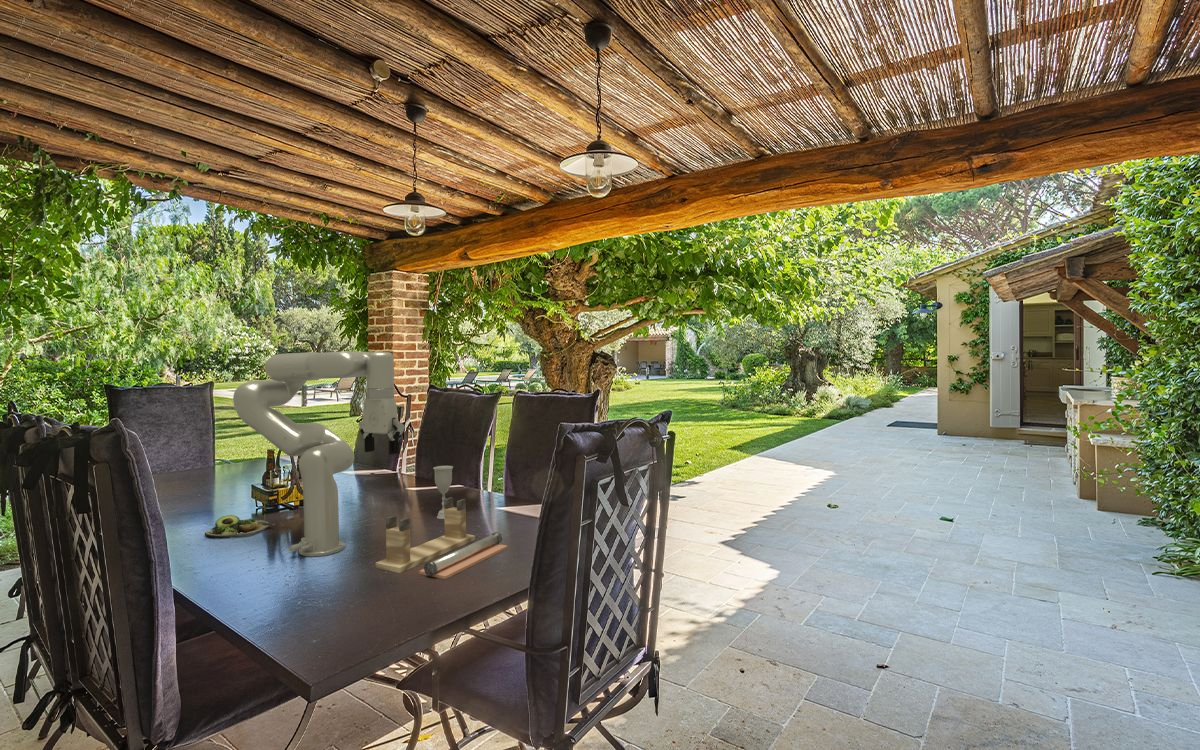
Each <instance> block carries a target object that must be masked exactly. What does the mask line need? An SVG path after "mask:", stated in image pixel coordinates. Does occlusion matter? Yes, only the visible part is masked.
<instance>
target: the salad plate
mask: <svg viewBox="0 0 1200 750" xmlns="http://www.w3.org/2000/svg"><path fill="white" fill-rule="evenodd" d="M214 524H215V525H214V527H212V528H210V529H208V530H206V531H205V532H204V536H205V537H207V538H208V539H217V538H218V539H231V538H230V537H234V538H242V537H241V536H244V537H250V536H253V535H257V534H259V532H260V533H262V532H263V531H264V530H266V529H267V528H269V527H274V526H275V525H276V524H275V523H271V522H268V521H266V520H257V519H256V518H248V519H246V518H245V519H240V517H238V516H237V515H234V514H233V515H232V514H230V515H229V514H228V515H224V516H220V518H219V517H218V519H217V520H216V521H215V523H214ZM262 530H263V531H262ZM240 532H244V533H240ZM245 532H247V533H245ZM237 533H238V534H237ZM249 535H250V536H249Z"/></svg>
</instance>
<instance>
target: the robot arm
mask: <svg viewBox="0 0 1200 750" xmlns="http://www.w3.org/2000/svg"><path fill="white" fill-rule="evenodd" d="M394 358H395V357H394V355H393V353H391V352H388V351H375V352H374V351H372V352H369V351H361V350H360V351H355V350H351V351H343V350H342V351H330V352H329V351H328V352H317V351H310V352H293V353H292V352H291V353H278V354H273V355H272V356H270V357H269V358H268V359H267V360H266V361H265V364H264V373H265V374H266V375H267V376H268V378H269V379H263V380H262V379H261V380H251V381H247V382H244V383H242V384H240V385H238V386H237V388H236V389H235V391H234V393H233V398H232V399H233V401H232V403H233V407H234V410H235V412H236V414H237V416H238V417H239V418H240V419H241V420H242V422H243V423H245V424H246V425H247V426H248V427H249V428H250V429H253V430H254V431H255V432H257V433H258V434H260V435H261V436H263V438H265V439H266V440H267V441H268V442H270V443H271V444H272V445H273V446H275V447H276V448H277V449H279V450H280V451H281V452H282V453H284V454H285V455H287V456H289V457H299V456H300V457H299V460H298V466H299V467H298V469H299V472H300V477H301V483H302V492H303V493H302V495H303V498H302V499H303V533H304V535H303V537H301V538H300V541H299V542H298V543H294V544H292V545H290V546H289V548H288V549H289V551H290V552H291V553H293V552H297V551H298V553H299V554H300V555H301V556H304V557H322V556H328V555H332V554H333V555H334V554H336V553H338V552H341V551H342V550H343V549H345V546H346V545H345V541H343V540H340V525H339V524H340V521H339V519H340V515H339V513H340V512H339V508H340V507H339V487H338V484H337V483H336V480H335V478H334V475H335V474H338V473H342V472H345V471H347V470H348V469H349V468H351V467H352V465H353V464H354V462H355V452H354V450H353V449H352V446H350V445H349V443H348V442H347V441H345V440H344V439H342V438H341V437H340V436H339V435H337V434H336V433H335V432H333V431H332V430H331V429H330V428H328V427H326V426H325V425H324V424H321V423H318V422H304V423H297V422H295V421H293V420H292V419H290V418H289V417H288V416H286V415H285V414H283V413H282V412H280V411H279V410H276V409H274V407H279V406H284V405H285V404H287V403H289V402H290V401H291V400H292V399H293V398H294V397H295V396H296V394H297V393H298V392H299V391H300V389H302V387H303V386H304V385H305V384H306V383H307V382H309V381H318V380H322V379H347V378H360V377H361V378H362V377H366V392H365V393H366V398H365V399H364V402H363V403H364V405H363V410H362V420H361V421H359V422H358V423H357V424H358V428H359V429H360V430H359V431H360V433H361V434H362V438H363V440H364V452H365V453H370V452H374V451H375V449H376V448H375V446H376V445H375V437H374V435H375V434H376V435H385V434H386V435H387V436H388V438H389V440H388V454H389V455H391V456H392V455H397V454H400V451H399V450H400V447H399V445H400V444H399V443H400V442H399V440H401V437H402V436H403V434H404V431H405V428H406V426H405V424H403V423H402V422H401V421H399V413H398V407H397V401H396V398H395V367H394V366H395V364H394V362H395V359H394Z"/></svg>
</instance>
